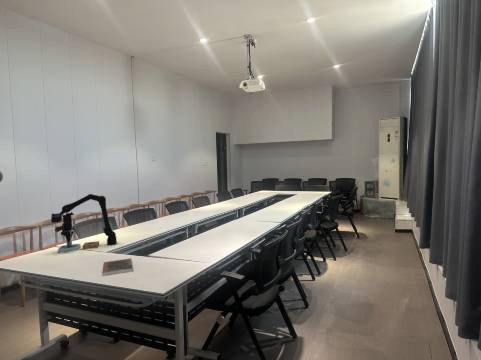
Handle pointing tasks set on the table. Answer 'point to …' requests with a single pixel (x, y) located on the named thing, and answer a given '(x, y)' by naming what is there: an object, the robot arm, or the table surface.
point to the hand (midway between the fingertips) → (69, 241)
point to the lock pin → (69, 243)
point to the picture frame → (117, 267)
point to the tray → (73, 248)
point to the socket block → (91, 245)
